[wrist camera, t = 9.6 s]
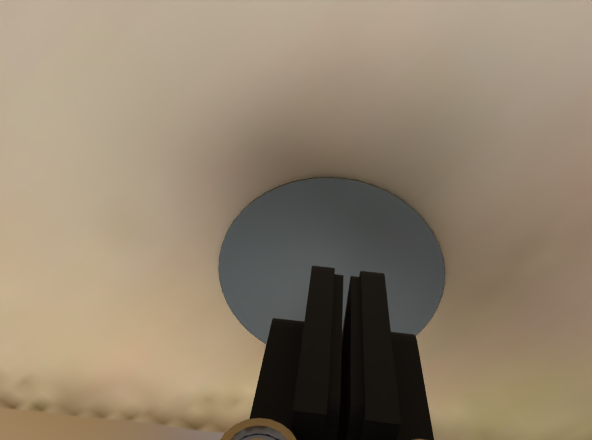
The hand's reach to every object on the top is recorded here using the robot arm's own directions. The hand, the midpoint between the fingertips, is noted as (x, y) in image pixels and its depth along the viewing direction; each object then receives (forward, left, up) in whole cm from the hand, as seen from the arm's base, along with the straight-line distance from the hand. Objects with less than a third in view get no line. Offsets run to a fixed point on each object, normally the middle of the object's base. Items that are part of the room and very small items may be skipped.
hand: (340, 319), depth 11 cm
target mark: (-8, +6, -15) cm, 18 cm away
